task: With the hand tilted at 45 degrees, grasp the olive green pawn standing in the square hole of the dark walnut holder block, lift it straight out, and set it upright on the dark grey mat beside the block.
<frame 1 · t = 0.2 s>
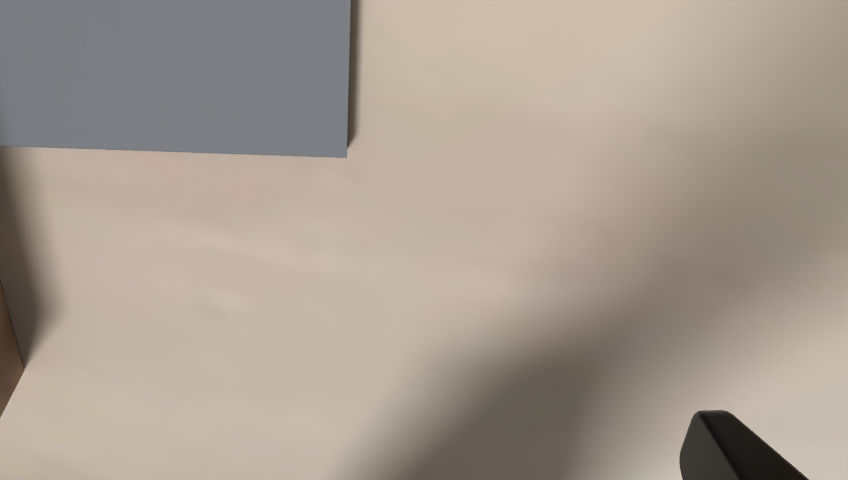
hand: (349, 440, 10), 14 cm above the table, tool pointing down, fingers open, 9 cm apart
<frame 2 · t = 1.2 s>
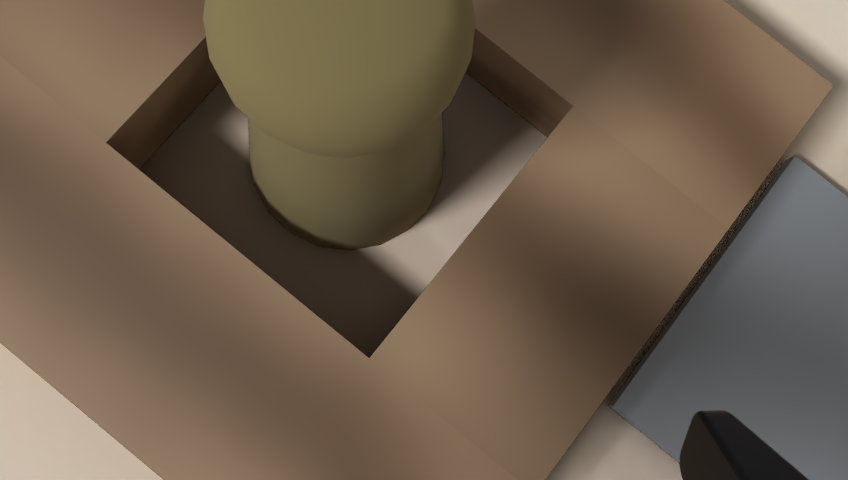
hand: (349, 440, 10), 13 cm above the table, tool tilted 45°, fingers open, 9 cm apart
walnut holder block: (347, 153, 24), on the table
grey mat: (827, 379, 24), on the table
olive green pawn: (347, 155, 25), resting in walnut holder block
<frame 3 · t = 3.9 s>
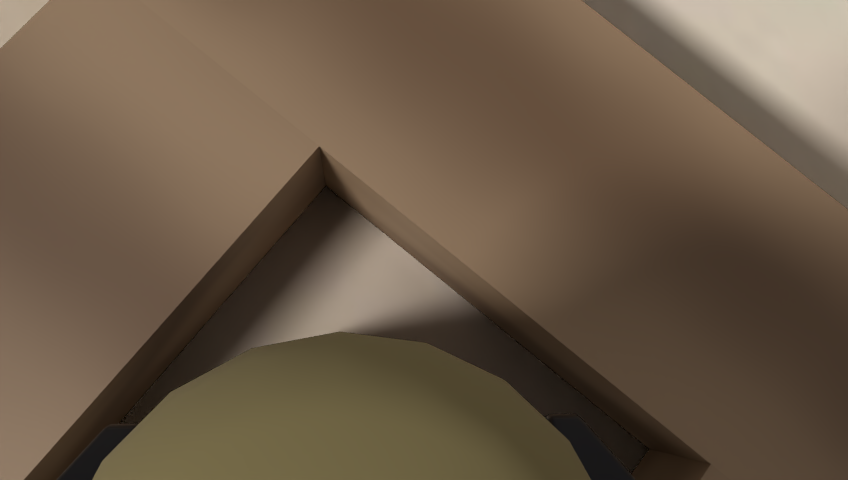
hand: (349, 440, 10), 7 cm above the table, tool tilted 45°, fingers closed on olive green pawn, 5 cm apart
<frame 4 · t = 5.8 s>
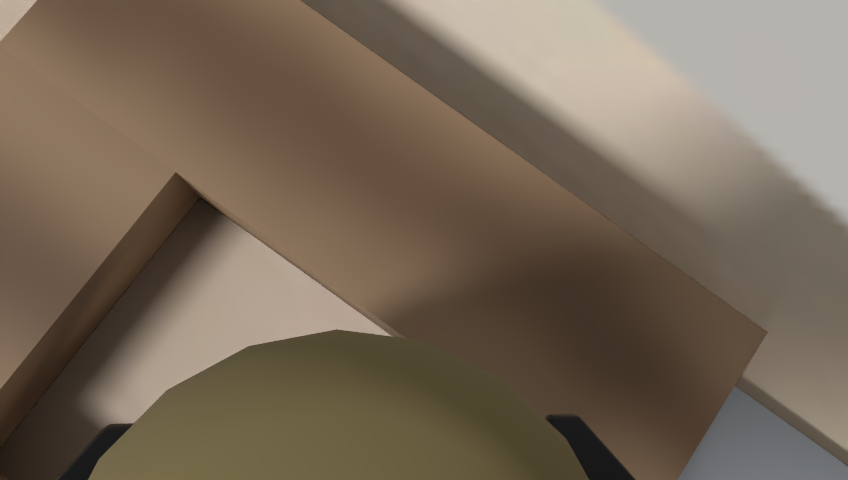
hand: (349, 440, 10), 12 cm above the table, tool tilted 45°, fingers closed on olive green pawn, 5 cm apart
walnut holder block: (229, 421, 22), on the table
when the fingers open (8 cm above the table, at t = 8.0 s): olive green pawn drops 1 cm, resting on grey mat.
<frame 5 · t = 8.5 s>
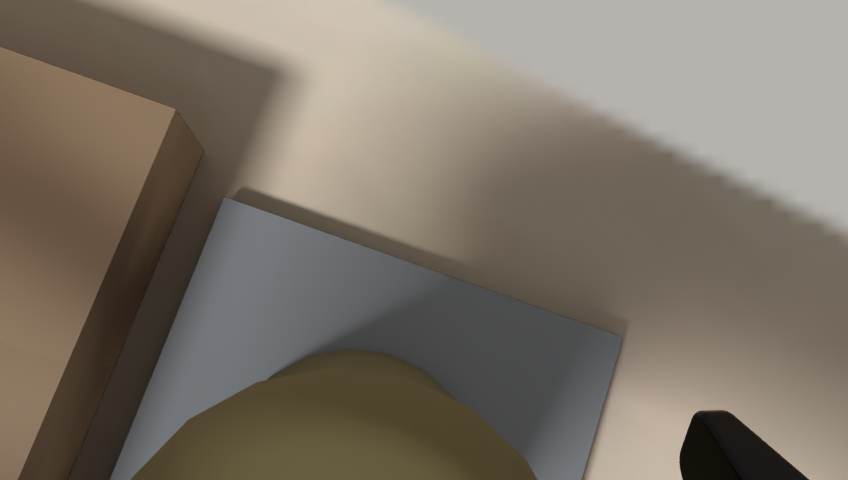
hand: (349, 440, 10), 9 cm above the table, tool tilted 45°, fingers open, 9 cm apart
grey mat: (352, 472, 18), on the table
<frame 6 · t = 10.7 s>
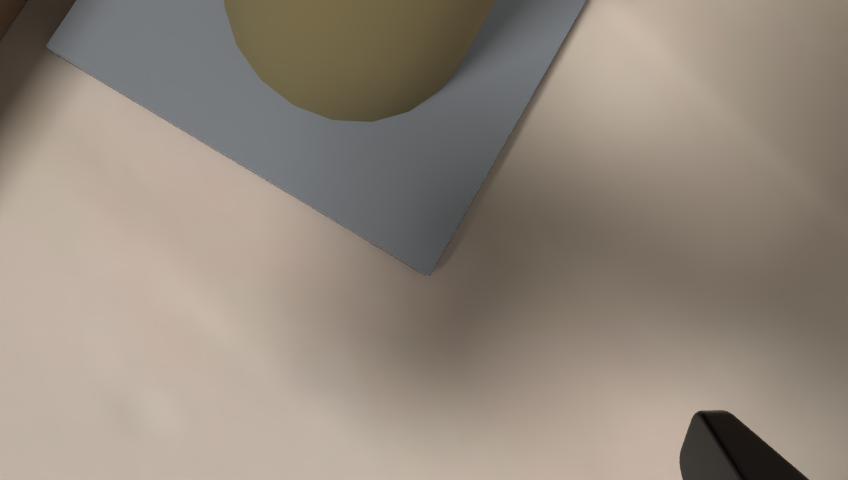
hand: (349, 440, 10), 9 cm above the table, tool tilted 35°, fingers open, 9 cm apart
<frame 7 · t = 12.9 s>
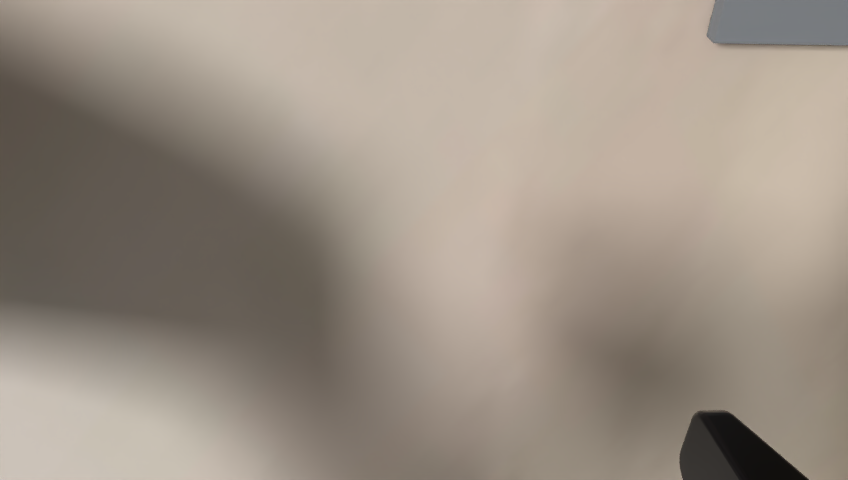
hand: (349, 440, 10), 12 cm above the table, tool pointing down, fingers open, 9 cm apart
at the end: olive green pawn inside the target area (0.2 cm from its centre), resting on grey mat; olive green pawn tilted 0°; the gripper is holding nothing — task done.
